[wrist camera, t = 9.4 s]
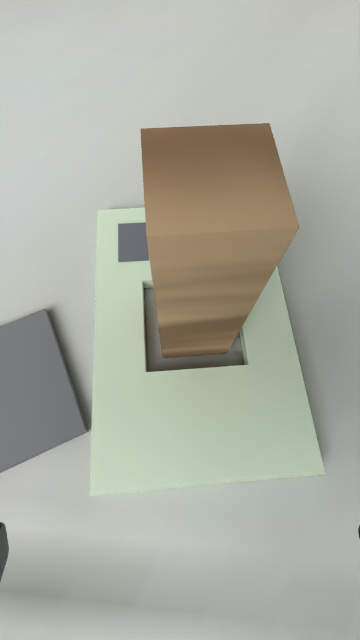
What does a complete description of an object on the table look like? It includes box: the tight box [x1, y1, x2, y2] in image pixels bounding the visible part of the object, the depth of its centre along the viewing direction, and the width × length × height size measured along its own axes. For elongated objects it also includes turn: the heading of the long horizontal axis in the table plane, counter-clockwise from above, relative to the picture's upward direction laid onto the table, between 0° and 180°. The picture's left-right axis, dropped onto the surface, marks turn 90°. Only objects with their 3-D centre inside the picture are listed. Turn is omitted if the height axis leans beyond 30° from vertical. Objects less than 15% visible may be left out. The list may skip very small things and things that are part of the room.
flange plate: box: [90, 208, 325, 496], centre depth 19 cm, size 18×12×1 cm, turn 5°
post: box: [141, 123, 299, 358], centre depth 14 cm, size 4×4×12 cm
